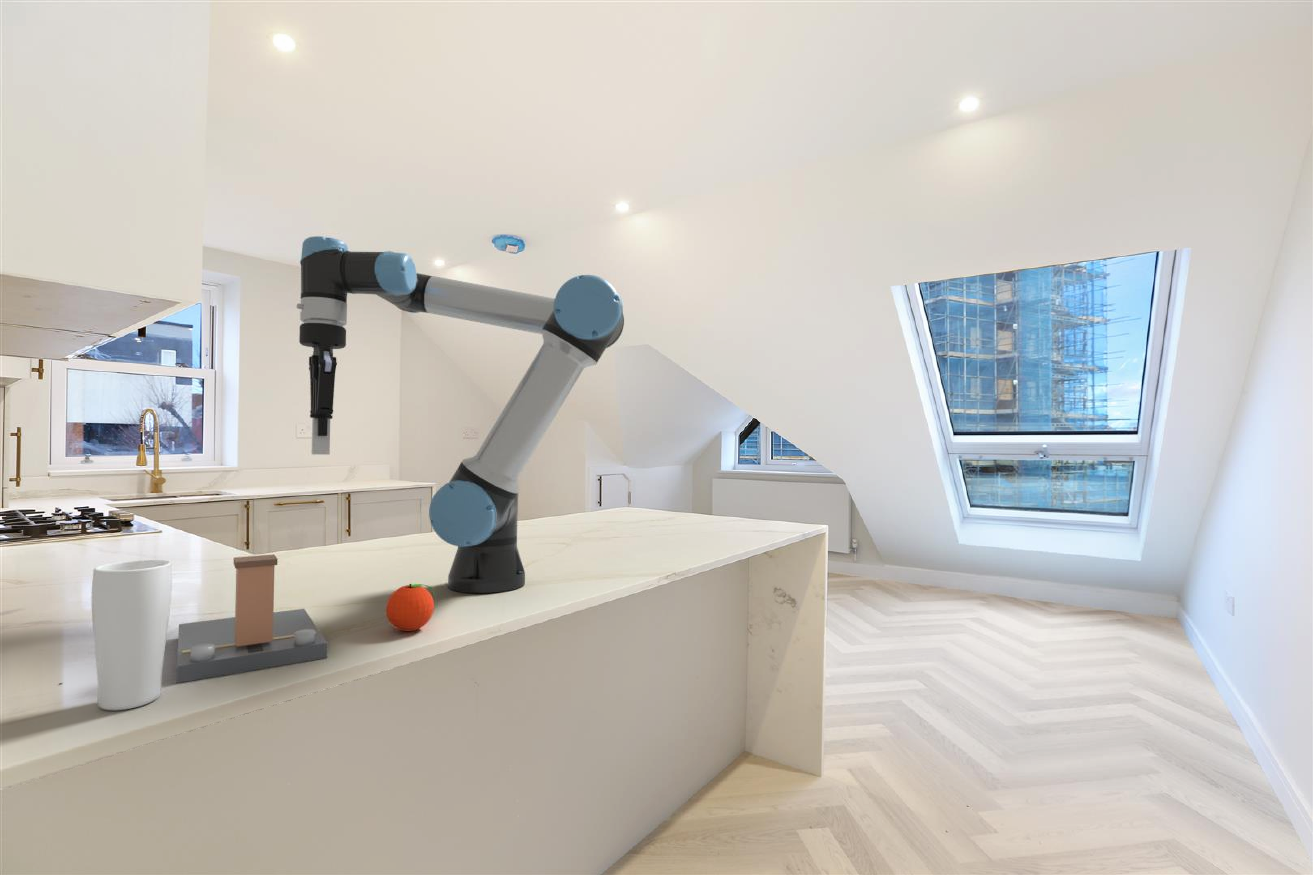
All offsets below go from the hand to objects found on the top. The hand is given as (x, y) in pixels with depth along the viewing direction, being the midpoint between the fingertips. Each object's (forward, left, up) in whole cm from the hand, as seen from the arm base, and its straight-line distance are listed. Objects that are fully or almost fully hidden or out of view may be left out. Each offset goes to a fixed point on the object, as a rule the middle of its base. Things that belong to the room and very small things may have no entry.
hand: (320, 454), depth 115 cm
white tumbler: (+24, +39, -27) cm, 53 cm away
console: (+12, +25, -26) cm, 38 cm away
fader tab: (+12, +30, -24) cm, 40 cm away
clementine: (-9, +28, -27) cm, 40 cm away
